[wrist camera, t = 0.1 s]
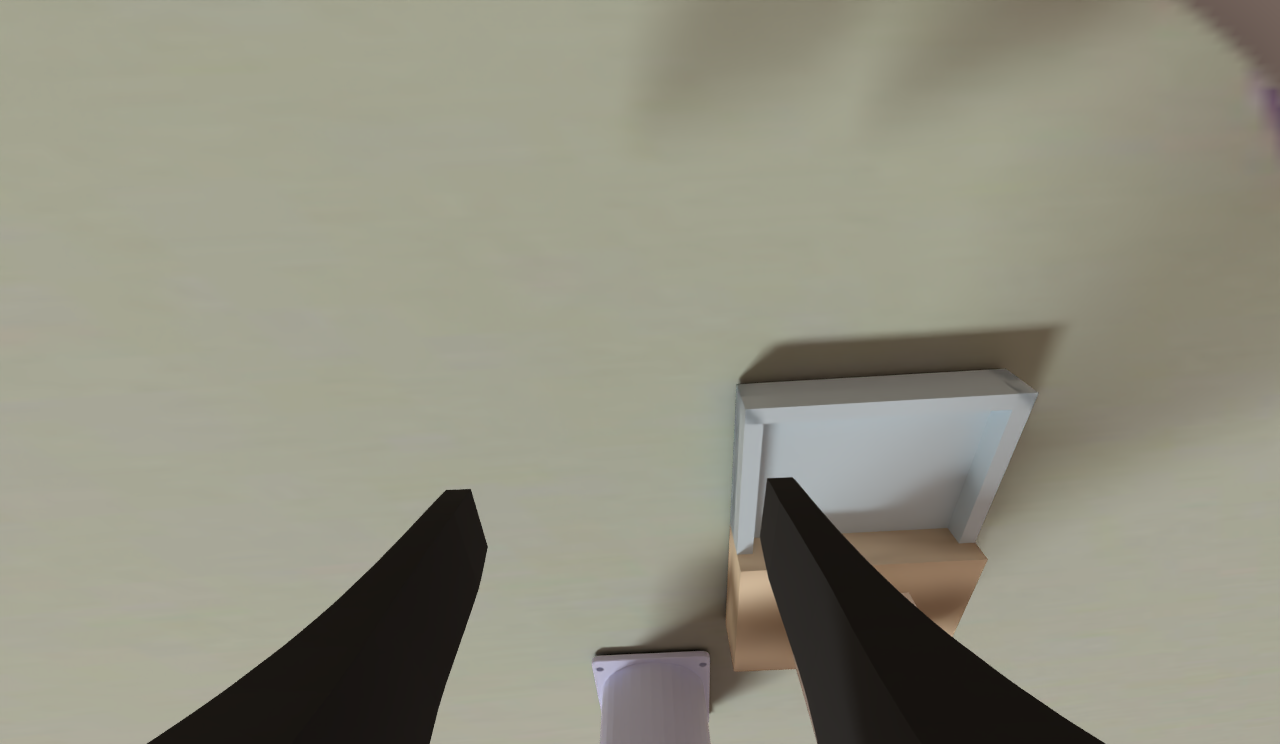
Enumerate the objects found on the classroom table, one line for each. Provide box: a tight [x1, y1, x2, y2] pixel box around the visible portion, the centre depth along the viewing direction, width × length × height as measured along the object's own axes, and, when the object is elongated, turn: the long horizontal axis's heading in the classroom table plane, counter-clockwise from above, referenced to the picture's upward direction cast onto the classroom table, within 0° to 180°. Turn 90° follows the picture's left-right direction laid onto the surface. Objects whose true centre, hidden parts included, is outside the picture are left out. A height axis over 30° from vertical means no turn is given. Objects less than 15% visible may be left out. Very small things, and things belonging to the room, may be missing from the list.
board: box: [726, 526, 988, 672], centre depth 27 cm, size 9×12×3 cm
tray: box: [730, 369, 1039, 555], centre depth 23 cm, size 9×12×2 cm
